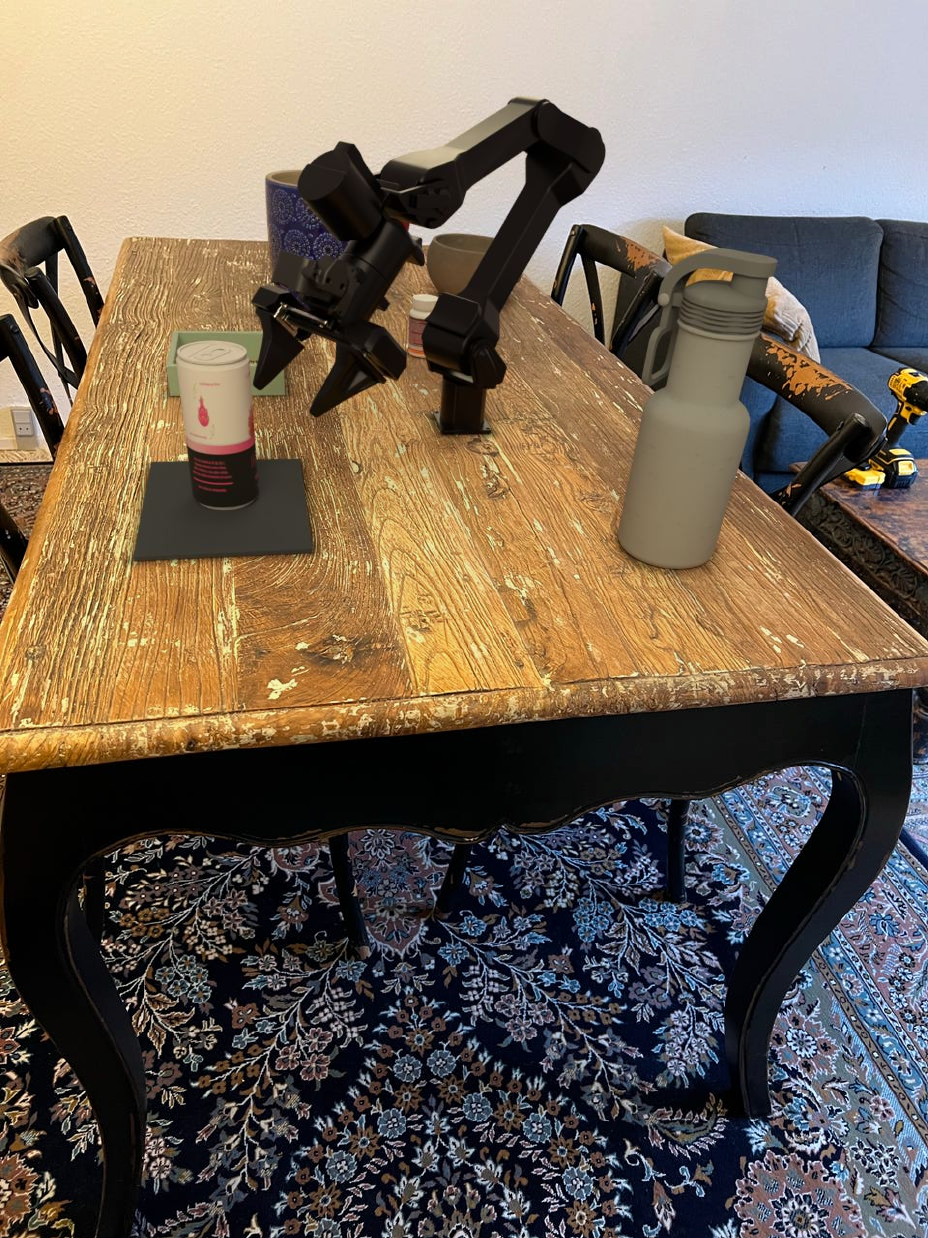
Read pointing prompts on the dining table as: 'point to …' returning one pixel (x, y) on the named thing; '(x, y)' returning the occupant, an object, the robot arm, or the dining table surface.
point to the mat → (223, 516)
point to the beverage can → (218, 423)
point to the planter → (295, 224)
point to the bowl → (455, 260)
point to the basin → (243, 338)
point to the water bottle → (694, 410)
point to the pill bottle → (419, 322)
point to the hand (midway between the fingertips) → (283, 401)
